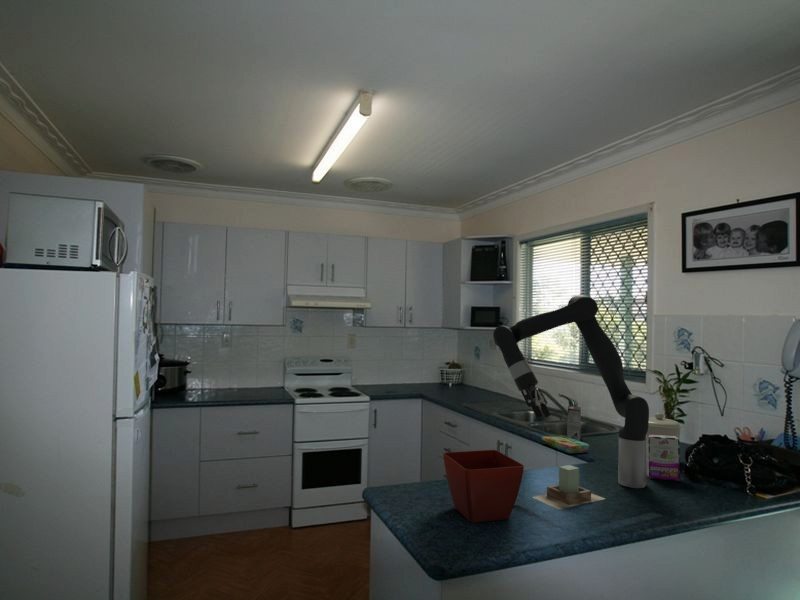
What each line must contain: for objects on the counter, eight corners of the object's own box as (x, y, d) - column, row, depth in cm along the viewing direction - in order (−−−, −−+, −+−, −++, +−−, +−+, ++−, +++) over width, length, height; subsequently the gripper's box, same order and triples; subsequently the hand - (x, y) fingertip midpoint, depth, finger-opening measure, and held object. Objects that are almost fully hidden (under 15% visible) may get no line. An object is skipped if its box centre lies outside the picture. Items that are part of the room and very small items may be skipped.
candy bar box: (676, 477, 198) (676, 435, 199) (680, 481, 193) (680, 438, 194) (645, 474, 201) (645, 433, 202) (648, 478, 196) (648, 436, 197)
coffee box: (567, 436, 267) (568, 405, 267) (580, 437, 264) (581, 406, 265) (566, 440, 258) (567, 408, 259) (580, 441, 256) (580, 409, 257)
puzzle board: (577, 492, 177) (577, 479, 178) (605, 503, 167) (606, 489, 167) (531, 501, 166) (531, 487, 167) (559, 514, 156) (559, 499, 156)
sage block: (569, 494, 170) (569, 465, 170) (578, 498, 166) (579, 468, 167) (558, 497, 167) (559, 466, 168) (568, 501, 164) (568, 470, 164)
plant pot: (464, 529, 143) (466, 469, 144) (440, 505, 161) (442, 452, 162) (524, 523, 148) (525, 465, 149) (494, 500, 167) (495, 449, 167)
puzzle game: (568, 444, 230) (541, 434, 248) (568, 454, 230) (541, 444, 248) (589, 443, 234) (561, 433, 253) (589, 453, 234) (561, 443, 252)
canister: (681, 468, 211) (681, 418, 212) (634, 461, 221) (634, 413, 222) (683, 459, 227) (683, 412, 228) (638, 452, 236) (639, 407, 237)
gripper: (524, 370, 176) (547, 412, 170) (538, 371, 188) (560, 411, 181) (506, 379, 179) (528, 422, 173) (521, 380, 191) (542, 420, 184)
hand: (544, 416), depth 177 cm, fingers open, 8 cm apart
